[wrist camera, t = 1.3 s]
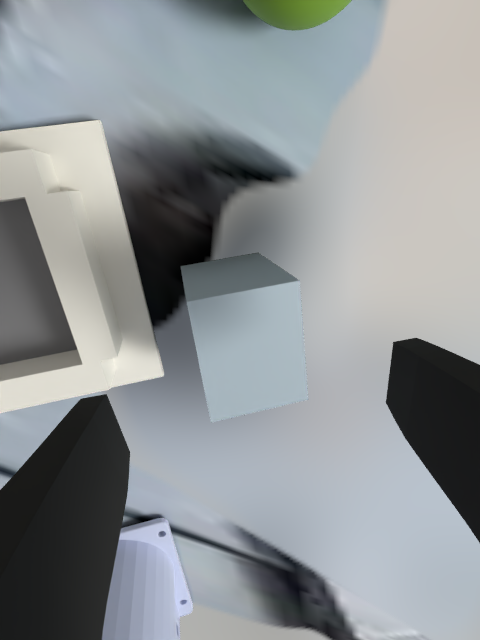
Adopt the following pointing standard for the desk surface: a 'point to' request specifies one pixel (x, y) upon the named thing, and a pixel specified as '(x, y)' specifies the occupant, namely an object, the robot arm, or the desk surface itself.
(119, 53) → the desk surface
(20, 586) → the robot arm
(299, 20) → the snail figurine
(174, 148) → the desk surface
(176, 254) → the desk surface
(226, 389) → the plug block
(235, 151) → the desk surface
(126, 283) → the socket plate
